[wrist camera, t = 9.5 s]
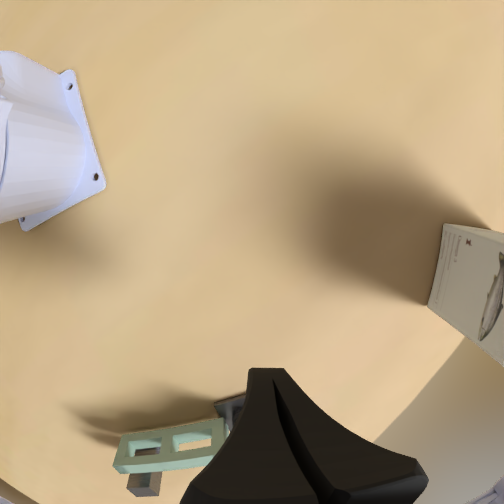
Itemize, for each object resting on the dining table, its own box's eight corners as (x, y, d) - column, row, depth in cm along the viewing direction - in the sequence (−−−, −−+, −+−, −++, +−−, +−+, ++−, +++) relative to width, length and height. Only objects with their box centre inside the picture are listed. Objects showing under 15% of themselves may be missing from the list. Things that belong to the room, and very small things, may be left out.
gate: (223, 417, 22) (223, 453, 18) (228, 426, 23) (229, 461, 19) (122, 434, 22) (112, 465, 18) (128, 442, 23) (120, 473, 19)
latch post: (129, 444, 24) (118, 485, 18) (160, 440, 24) (152, 484, 18) (146, 462, 24) (138, 502, 19) (176, 458, 24) (171, 501, 19)
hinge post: (214, 402, 23) (213, 452, 17) (255, 390, 23) (263, 440, 17) (230, 429, 24) (232, 476, 18) (269, 418, 24) (278, 465, 18)
